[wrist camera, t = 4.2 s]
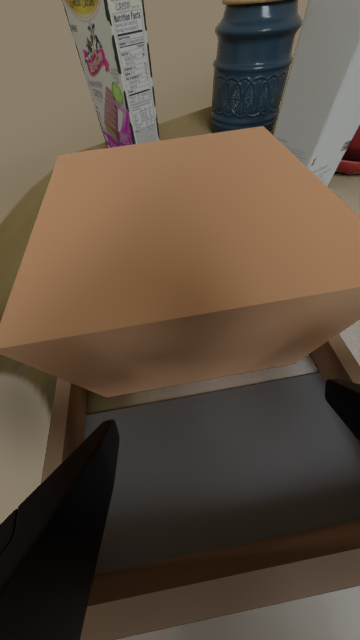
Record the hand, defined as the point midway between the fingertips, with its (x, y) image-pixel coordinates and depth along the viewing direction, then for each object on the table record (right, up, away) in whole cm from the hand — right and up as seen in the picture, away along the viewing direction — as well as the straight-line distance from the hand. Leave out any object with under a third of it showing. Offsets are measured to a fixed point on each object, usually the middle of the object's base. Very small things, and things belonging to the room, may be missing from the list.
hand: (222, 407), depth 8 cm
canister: (+11, +43, +33) cm, 55 cm away
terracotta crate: (-1, +5, +11) cm, 12 cm away
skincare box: (+14, +22, +20) cm, 33 cm away
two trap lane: (-2, +8, +13) cm, 15 cm away
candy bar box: (-10, +32, +28) cm, 44 cm away
